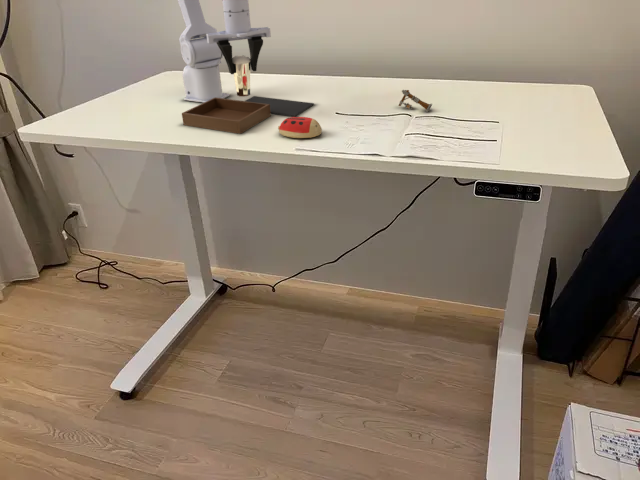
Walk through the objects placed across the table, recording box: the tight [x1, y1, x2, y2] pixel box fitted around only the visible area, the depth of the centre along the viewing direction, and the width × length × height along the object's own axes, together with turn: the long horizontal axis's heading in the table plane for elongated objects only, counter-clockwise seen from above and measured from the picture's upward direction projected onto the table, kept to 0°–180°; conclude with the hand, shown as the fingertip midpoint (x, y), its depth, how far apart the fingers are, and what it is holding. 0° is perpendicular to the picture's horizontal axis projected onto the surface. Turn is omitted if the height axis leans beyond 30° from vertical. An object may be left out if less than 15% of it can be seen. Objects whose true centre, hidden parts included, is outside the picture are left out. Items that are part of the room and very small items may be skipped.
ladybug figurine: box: [277, 116, 323, 139], centre depth 124 cm, size 7×10×4 cm
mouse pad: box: [245, 95, 315, 117], centre depth 142 cm, size 18×10×1 cm, turn 63°
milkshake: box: [232, 52, 253, 98], centre depth 133 cm, size 4×5×10 cm
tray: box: [181, 97, 272, 135], centre depth 134 cm, size 16×13×3 cm
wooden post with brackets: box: [398, 89, 433, 113], centre depth 136 cm, size 2×8×4 cm, turn 62°
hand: (242, 71), depth 132 cm, fingers closed on milkshake, 5 cm apart
